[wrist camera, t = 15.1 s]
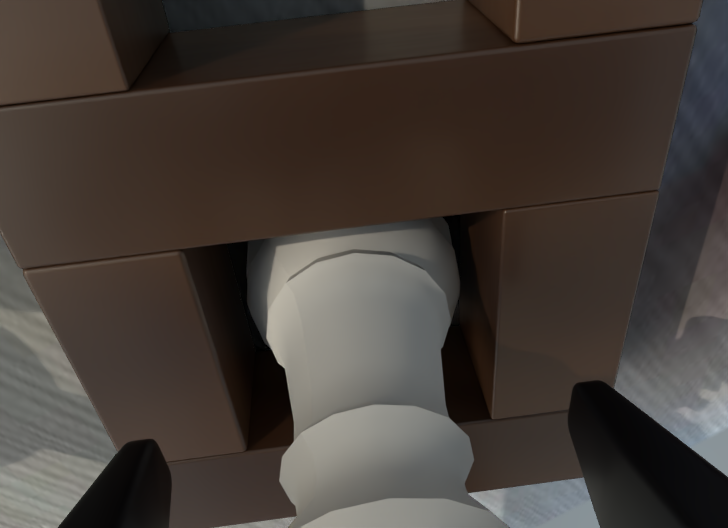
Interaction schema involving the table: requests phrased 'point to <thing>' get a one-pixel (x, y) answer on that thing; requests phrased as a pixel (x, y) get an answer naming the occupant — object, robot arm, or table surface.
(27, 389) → the table surface
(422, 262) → the rook chess piece
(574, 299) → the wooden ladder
